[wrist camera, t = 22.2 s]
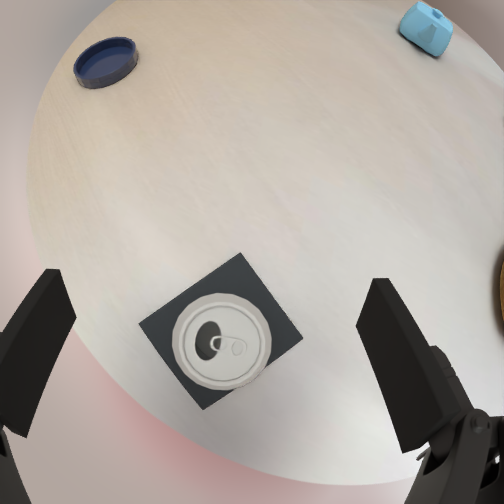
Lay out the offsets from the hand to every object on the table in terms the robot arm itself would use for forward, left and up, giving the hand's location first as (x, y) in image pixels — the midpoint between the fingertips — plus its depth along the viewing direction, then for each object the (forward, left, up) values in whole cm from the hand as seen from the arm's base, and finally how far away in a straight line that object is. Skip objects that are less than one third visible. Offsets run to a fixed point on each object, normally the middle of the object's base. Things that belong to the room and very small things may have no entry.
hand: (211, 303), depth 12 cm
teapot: (+71, +22, -22) cm, 77 cm away
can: (-1, -2, -21) cm, 21 cm away
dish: (+6, +43, -22) cm, 48 cm away
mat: (-1, -2, -22) cm, 22 cm away
